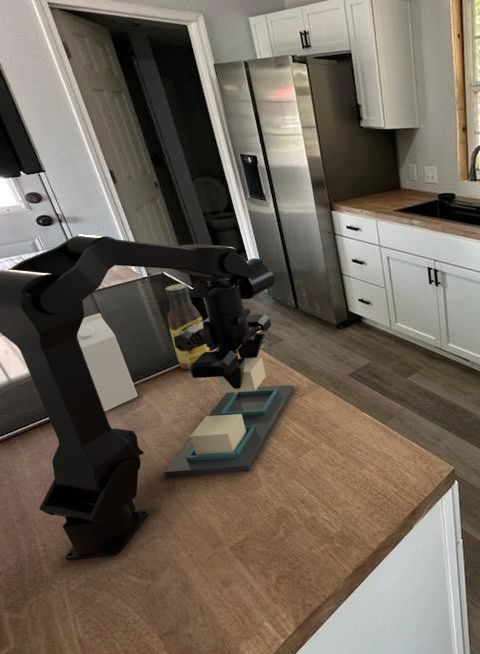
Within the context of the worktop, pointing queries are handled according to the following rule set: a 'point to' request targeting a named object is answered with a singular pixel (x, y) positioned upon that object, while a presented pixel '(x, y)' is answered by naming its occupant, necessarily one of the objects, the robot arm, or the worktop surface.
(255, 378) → the pad
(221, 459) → the back board
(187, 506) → the worktop surface
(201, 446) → the pad
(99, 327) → the milk carton
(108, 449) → the robot arm
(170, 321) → the sauce bottle
